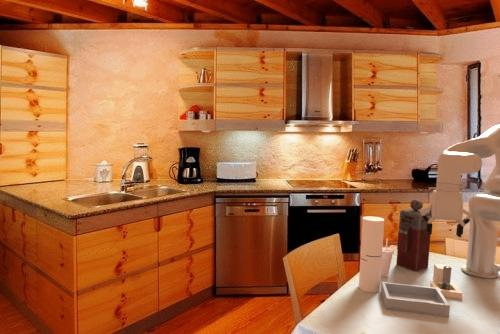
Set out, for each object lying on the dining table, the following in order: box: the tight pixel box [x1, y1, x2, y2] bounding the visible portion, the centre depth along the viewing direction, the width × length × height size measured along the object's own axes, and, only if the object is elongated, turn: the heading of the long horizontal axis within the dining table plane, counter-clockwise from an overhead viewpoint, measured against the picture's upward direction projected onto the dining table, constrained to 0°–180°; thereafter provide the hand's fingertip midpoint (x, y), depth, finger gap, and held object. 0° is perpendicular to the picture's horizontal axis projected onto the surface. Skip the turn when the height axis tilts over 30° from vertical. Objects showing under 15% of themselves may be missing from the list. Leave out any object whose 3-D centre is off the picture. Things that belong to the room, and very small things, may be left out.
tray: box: [380, 281, 451, 317], centre depth 119 cm, size 18×13×4 cm
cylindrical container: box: [358, 215, 385, 293], centre depth 129 cm, size 7×7×25 cm
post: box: [442, 265, 452, 290], centre depth 128 cm, size 2×2×9 cm
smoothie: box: [381, 238, 394, 276], centre depth 143 cm, size 6×6×14 cm
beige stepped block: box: [429, 263, 463, 300], centre depth 130 cm, size 8×12×7 cm, turn 168°
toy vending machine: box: [396, 198, 431, 273], centre depth 151 cm, size 9×11×28 cm
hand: (443, 235), depth 132 cm, fingers open, 9 cm apart
